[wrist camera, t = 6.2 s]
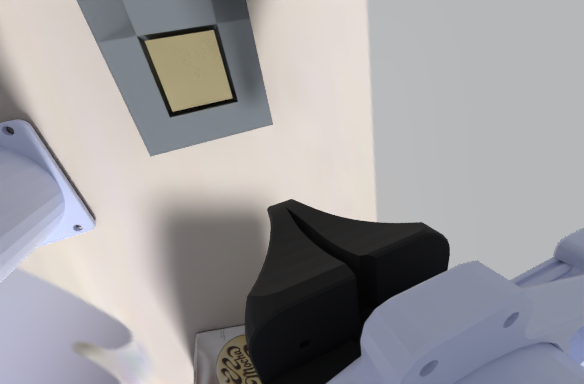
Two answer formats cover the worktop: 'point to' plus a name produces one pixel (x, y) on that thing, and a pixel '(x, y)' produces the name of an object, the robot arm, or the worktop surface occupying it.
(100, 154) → the worktop surface
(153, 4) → the keypad
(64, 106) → the worktop surface
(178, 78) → the brass key
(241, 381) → the coffee box
